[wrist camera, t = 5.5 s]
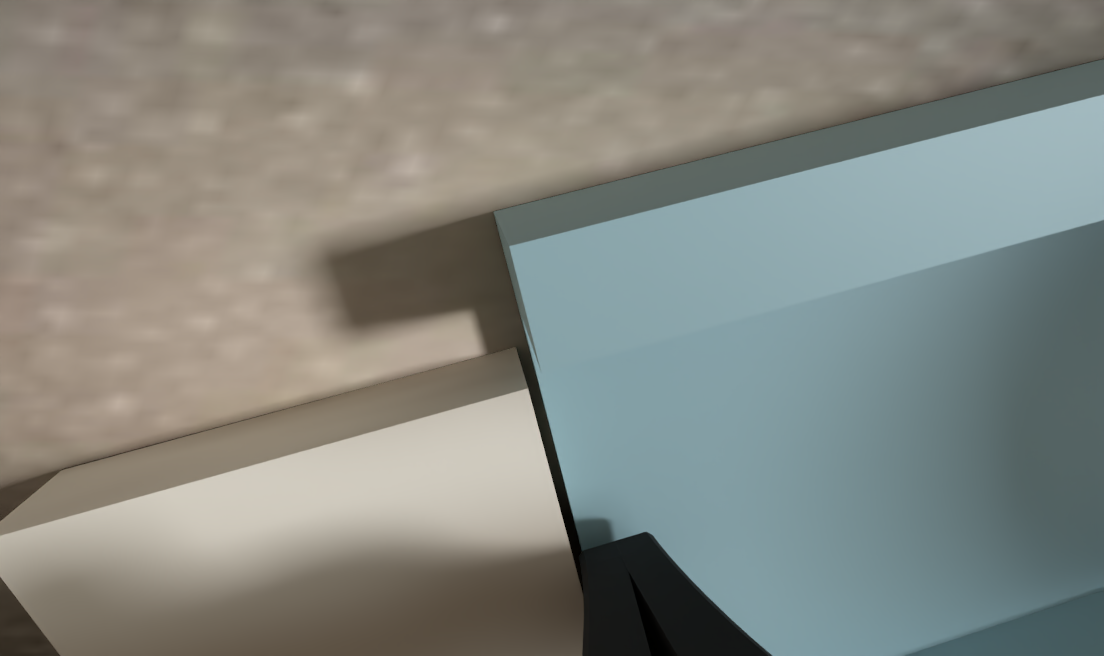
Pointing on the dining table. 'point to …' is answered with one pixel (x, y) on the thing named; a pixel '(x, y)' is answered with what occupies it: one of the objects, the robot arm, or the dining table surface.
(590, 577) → the robot arm
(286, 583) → the cover plate
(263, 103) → the dining table surface
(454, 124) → the dining table surface
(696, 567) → the teal box
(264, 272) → the dining table surface
